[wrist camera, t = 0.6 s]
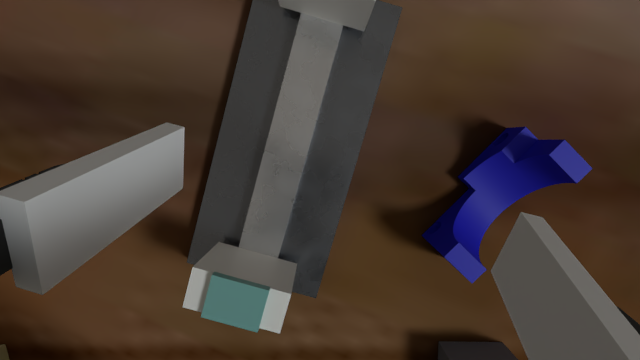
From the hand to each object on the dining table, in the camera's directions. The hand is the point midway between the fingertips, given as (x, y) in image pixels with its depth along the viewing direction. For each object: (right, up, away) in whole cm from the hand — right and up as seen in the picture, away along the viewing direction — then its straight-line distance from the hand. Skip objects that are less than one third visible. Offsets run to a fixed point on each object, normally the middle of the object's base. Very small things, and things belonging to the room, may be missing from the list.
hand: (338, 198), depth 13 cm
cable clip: (+13, 0, +18) cm, 22 cm away
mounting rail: (-3, +4, +17) cm, 18 cm away
